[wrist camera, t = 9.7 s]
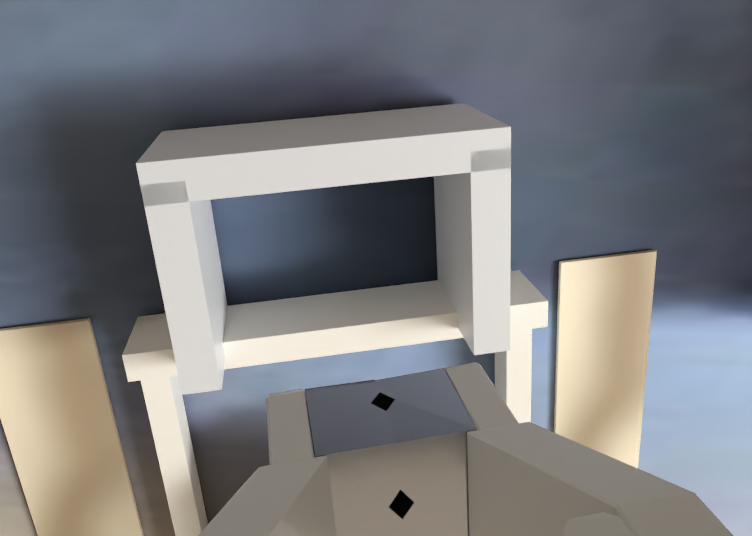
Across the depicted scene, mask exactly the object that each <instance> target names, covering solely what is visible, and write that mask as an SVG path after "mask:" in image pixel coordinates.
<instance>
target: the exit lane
mask: <svg viewBox="0 0 752 536" xmlns="http://www.w3.org/2000/svg"><path fill="white" fill-rule="evenodd" d="M656 253H657V251H655V250H648V251H640V252H631V253H623V254H615V255H607V256H598V257H590V258H582V259H574V260H565V261H559V280H558V311H557V343H556V375H555V406H554V433H556V434H559V435H561V436H563V437H565V438H568V439H570V440H572V441H575V442H577V443H579V444H582V445H584V446H586V447H589V448H591V449H593V450H596V451H598V452H600V453H603V454H605V455H607V456H610V457H612V458H614V459H617V460H619V461H621V462H624V463H626V464H628V465H631V466H633V467H635V468H638V460H639V448H640V437H641V425H642V414H643V403H644V391H645V380H646V368H647V357H648V345H649V334H650V322H651V311H652V299H653V288H654V276H655V265H656ZM0 419H1V422H2V425H3V428H4V431H5V434H6V438H7V441H8V444H9V447H10V450H11V453H12V456H13V460H14V463H15V466H16V469H17V472H18V475H19V478H20V482H21V485H22V488H23V491H24V494H25V497H26V500H27V504H28V507H29V510H30V513H31V516H32V519H33V522H34V526H35V529H36V532H37V535H38V536H144V535H143V531H142V526H141V522H140V518H139V514H138V510H137V506H136V502H135V498H134V494H133V490H132V486H131V482H130V478H129V474H128V470H127V465H126V461H125V457H124V453H123V449H122V445H121V441H120V437H119V433H118V429H117V425H116V421H115V417H114V413H113V409H112V404H111V400H110V396H109V392H108V388H107V384H106V380H105V376H104V372H103V368H102V364H101V360H100V356H99V352H98V348H97V343H96V339H95V335H94V331H93V327H92V323H91V319H90V318H87V319H78V320H70V321H62V322H54V323H45V324H37V325H29V326H20V327H12V328H4V329H0Z"/></svg>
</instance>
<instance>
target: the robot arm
mask: <svg viewBox="0 0 752 536" xmlns="http://www.w3.org/2000/svg"><path fill="white" fill-rule="evenodd" d="M305 396H306V399H305ZM266 404H267V425H268V445H269V465H267V466H262V467H259V468H258V469H257V470H256V471H255V472H254V473H253V474H252V475H251V476H250V478H249V479H248V480H247V481H246V482H245V483H244V484H243V485H242V487H241V488H240V489H239V490H238V491H237V492H236V493H235V494H234V496H233V497H232V498H231V499H230V500H229V501H228V502H227V504H226V505H225V506H224V507H223V508H222V509H221V510H220V511H219V513H218V514H217V515H216V516H215V517H214V518H213V519H212V520H211V522H210V523H209V524H208V525H207V526H206V527H205V528H204V529H203V531H202V532H201V533H200V534H199V535H198V536H733V535H732V534H731V533H730V532H729V530H728V529H727V528H726V527H725V526H724V525H723V524H722V523H721V522H720V521H719V519H718V518H717V517H716V516H715V515H714V514H713V513H712V512H711V511H710V510H709V508H708V507H707V506H706V505H705V504H704V503H703V502H702V501H701V500H700V498H699V497H698V496H697V495H696V494H695V493H693V492H691V491H689V490H686V489H684V488H682V487H679V486H677V485H675V484H672V483H670V482H668V481H665V480H663V479H661V478H658V477H656V476H654V475H651V474H649V473H647V472H644V471H642V470H640V469H638V468H635V467H633V466H631V465H628V464H626V463H624V462H621V461H619V460H617V459H614V458H612V457H610V456H607V455H605V454H603V453H600V452H598V451H596V450H593V449H591V448H589V447H586V446H584V445H582V444H579V443H577V442H575V441H572V440H570V439H568V438H565V437H563V436H561V435H559V434H556V433H554V432H552V431H549V430H547V429H545V428H542V427H540V426H538V425H535V424H533V423H531V422H525V423H518V421H517V420H516V418H515V417H514V415H513V414H512V412H511V411H510V409H509V408H508V406H507V404H506V403H505V401H504V400H503V398H502V397H501V395H500V394H499V392H498V391H497V389H496V388H495V386H494V385H493V383H492V382H491V380H490V379H489V377H488V376H487V374H486V372H485V371H484V369H483V368H482V366H481V365H480V364H478V363H476V362H473V363H468V364H463V365H458V366H453V367H448V368H442V369H437V370H431V371H425V372H420V373H414V374H409V375H403V376H397V377H392V378H386V379H381V380H369V381H362V382H354V383H347V384H339V385H332V386H324V387H317V388H309V389H305V393H304V391H303V390H302V389H299V390H293V391H287V392H281V393H275V394H269V395H268V396H267V399H266Z"/></svg>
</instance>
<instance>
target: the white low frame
mask: <svg viewBox="0 0 752 536" xmlns="http://www.w3.org/2000/svg"><path fill="white" fill-rule="evenodd" d="M136 168H137V172H138V177H139V182H140V187H141V192H142V197H143V202H144V207H145V212H146V217H147V222H148V227H149V232H150V237H151V242H152V247H153V252H154V257H155V262H156V267H157V272H158V277H159V282H160V287H161V292H162V297H163V302H164V307H165V312H166V313H164V314H156V315H148V316H140V317H138V318H137V320H136V323H135V325H134V327H133V330H132V332H131V335H130V337H129V340H128V342H127V344H126V347H125V349H124V352H123V354H122V358H123V362H124V366H125V371H126V375H127V379H128V382H132V381H139V380H141V384H142V389H143V393H144V398H145V402H146V407H147V411H148V416H149V420H150V425H151V429H152V433H153V438H154V442H155V447H156V451H157V456H158V460H159V465H160V469H161V474H162V478H163V483H164V487H165V491H166V496H167V500H168V505H169V509H170V514H171V518H172V523H173V527H174V532H175V536H198V535H199V534H200V533H201V532H202V531H203V529H204V528H205V527H206V526H207V525H208V522H207V517H206V512H205V507H204V502H203V497H202V492H201V487H200V482H199V477H198V472H197V467H196V462H195V457H194V452H193V447H192V442H191V437H190V432H189V427H188V422H187V417H186V412H185V407H184V402H183V397H182V395H184V394H192V393H199V392H206V391H214V390H221V389H222V383H223V375H224V369H230V368H238V367H245V366H253V365H261V364H268V363H276V362H283V361H291V360H298V359H306V358H314V357H321V356H329V355H336V354H344V353H352V352H359V351H367V350H374V349H382V348H389V347H397V346H405V345H412V344H420V343H427V342H435V341H442V340H450V339H458V338H464V339H465V341H466V343H467V344H468V346H469V348H470V349H471V351H472V353H473V354H474V355H480V354H488V353H495V388H496V389H497V391H498V392H499V394H500V395H501V397H502V398H503V400H504V401H505V403H506V404H507V406H508V408H509V409H510V411H511V412H512V414H513V415H514V417H515V418H516V420H517V421H518V423H525V422H531V364H532V329H533V328H541V327H547V325H548V300H547V299H546V298H545V297H544V296H543V295H542V294H541V293H540V292H539V291H538V290H537V289H536V288H535V287H534V286H533V284H532V283H531V282H530V281H529V280H528V279H527V278H526V277H525V276H524V275H523V274H522V273H521V272H520V271H519V270H517V271H510V249H511V127H510V126H508V125H506V124H504V123H502V122H501V121H499V120H497V119H495V118H493V117H491V116H489V115H487V114H485V113H483V112H481V111H479V110H477V109H475V108H473V107H471V106H469V105H467V104H465V103H461V104H450V105H440V106H429V107H418V108H407V109H397V110H386V111H375V112H364V113H354V114H343V115H332V116H321V117H311V118H300V119H289V120H278V121H268V122H257V123H246V124H235V125H224V126H214V127H203V128H192V129H181V130H171V131H162V132H161V133H160V134H159V136H158V137H157V138H156V139H155V141H154V142H153V143H152V144H151V145H150V147H149V148H148V149H147V150H146V151H145V153H144V154H143V155H142V156H141V158H140V159H139V160H138V161H137V162H136ZM431 176H434V197H435V223H436V249H437V275H438V280H435V281H427V282H419V283H411V284H402V285H394V286H386V287H378V288H370V289H361V290H353V291H345V292H337V293H329V294H320V295H312V296H304V297H296V298H288V299H279V300H271V301H263V302H255V303H246V304H238V305H230V306H227V300H226V293H225V287H224V281H223V275H222V269H221V263H220V257H219V250H218V244H217V238H216V232H215V226H214V220H213V214H212V208H211V201H210V200H211V199H221V198H230V197H240V196H250V195H259V194H269V193H278V192H288V191H297V190H307V189H316V188H326V187H336V186H345V185H355V184H364V183H374V182H383V181H393V180H403V179H412V178H422V177H431Z"/></svg>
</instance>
